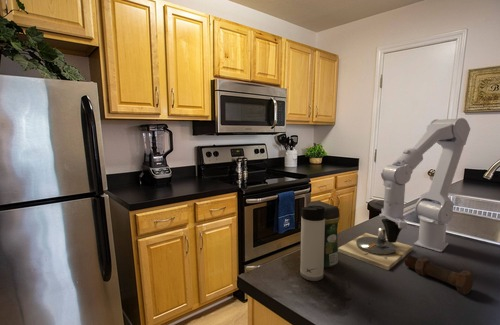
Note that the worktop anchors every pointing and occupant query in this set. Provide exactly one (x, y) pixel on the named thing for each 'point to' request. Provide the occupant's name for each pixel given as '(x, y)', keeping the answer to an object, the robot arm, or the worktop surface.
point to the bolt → (441, 273)
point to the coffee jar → (329, 232)
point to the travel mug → (312, 242)
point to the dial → (376, 244)
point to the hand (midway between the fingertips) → (391, 241)
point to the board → (375, 259)
